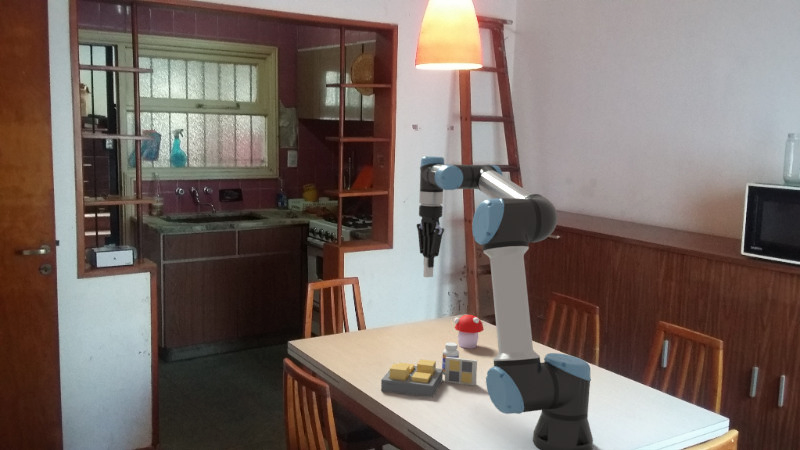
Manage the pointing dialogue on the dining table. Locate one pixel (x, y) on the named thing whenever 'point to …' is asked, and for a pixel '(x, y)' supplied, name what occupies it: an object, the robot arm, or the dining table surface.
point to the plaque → (460, 370)
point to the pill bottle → (449, 353)
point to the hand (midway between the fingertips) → (428, 276)
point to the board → (412, 384)
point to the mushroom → (468, 330)
